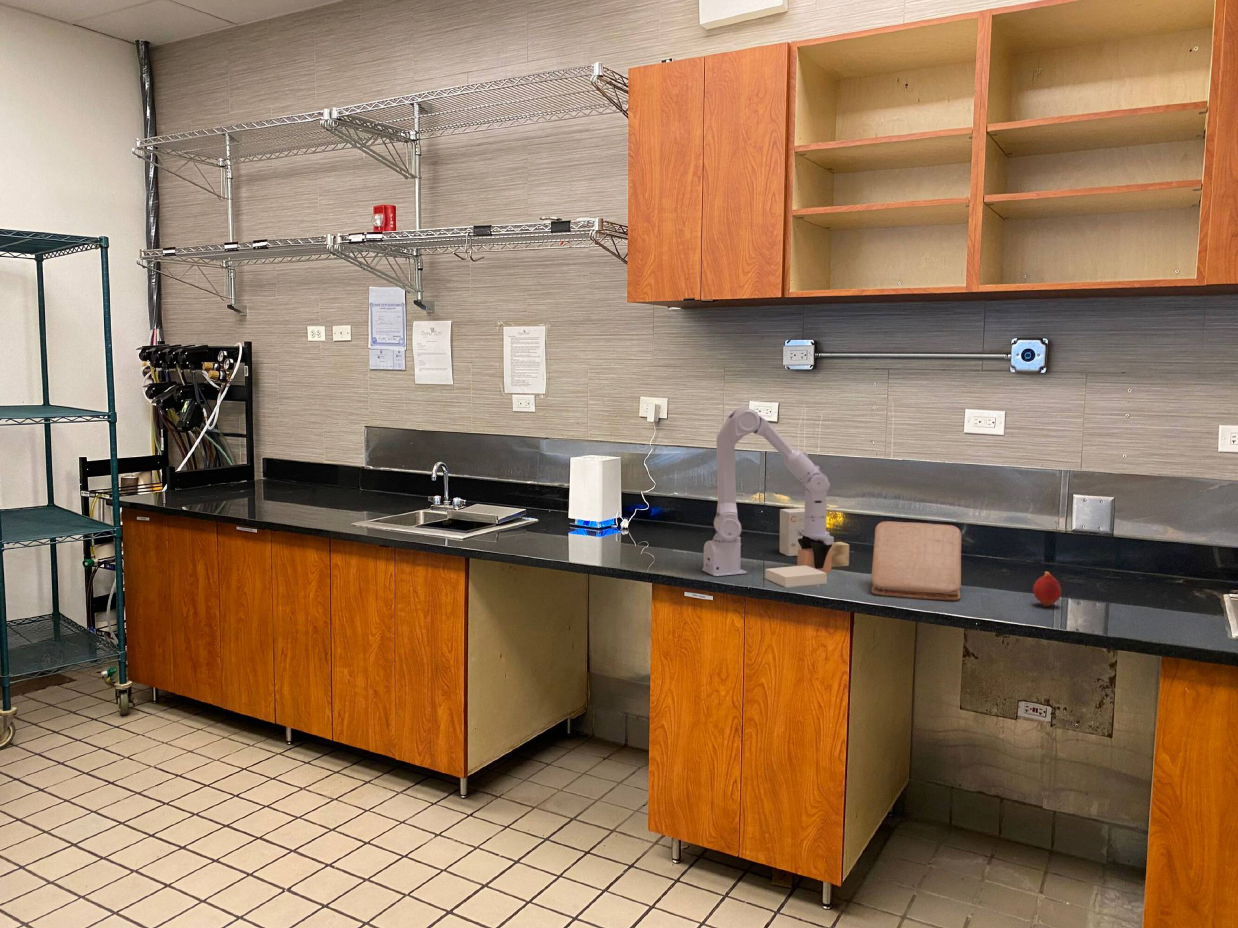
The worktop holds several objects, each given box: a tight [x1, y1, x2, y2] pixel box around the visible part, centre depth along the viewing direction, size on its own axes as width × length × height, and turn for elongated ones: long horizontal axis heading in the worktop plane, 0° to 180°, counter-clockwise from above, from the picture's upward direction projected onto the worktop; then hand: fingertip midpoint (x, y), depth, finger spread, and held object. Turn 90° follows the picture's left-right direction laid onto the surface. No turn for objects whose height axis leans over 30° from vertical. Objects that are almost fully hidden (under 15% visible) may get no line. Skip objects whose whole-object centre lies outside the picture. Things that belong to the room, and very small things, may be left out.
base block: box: [765, 565, 828, 588], centre depth 229 cm, size 12×10×3 cm
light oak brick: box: [830, 541, 850, 568], centre depth 246 cm, size 8×4×6 cm, turn 110°
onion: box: [1032, 571, 1062, 607], centre depth 203 cm, size 6×6×8 cm
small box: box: [779, 507, 805, 557], centre depth 261 cm, size 8×6×13 cm
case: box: [870, 520, 962, 602], centre depth 219 cm, size 20×21×16 cm
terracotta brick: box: [796, 548, 832, 574], centre depth 238 cm, size 8×4×6 cm, turn 110°
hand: (814, 566), depth 239 cm, fingers closed on terracotta brick, 4 cm apart
